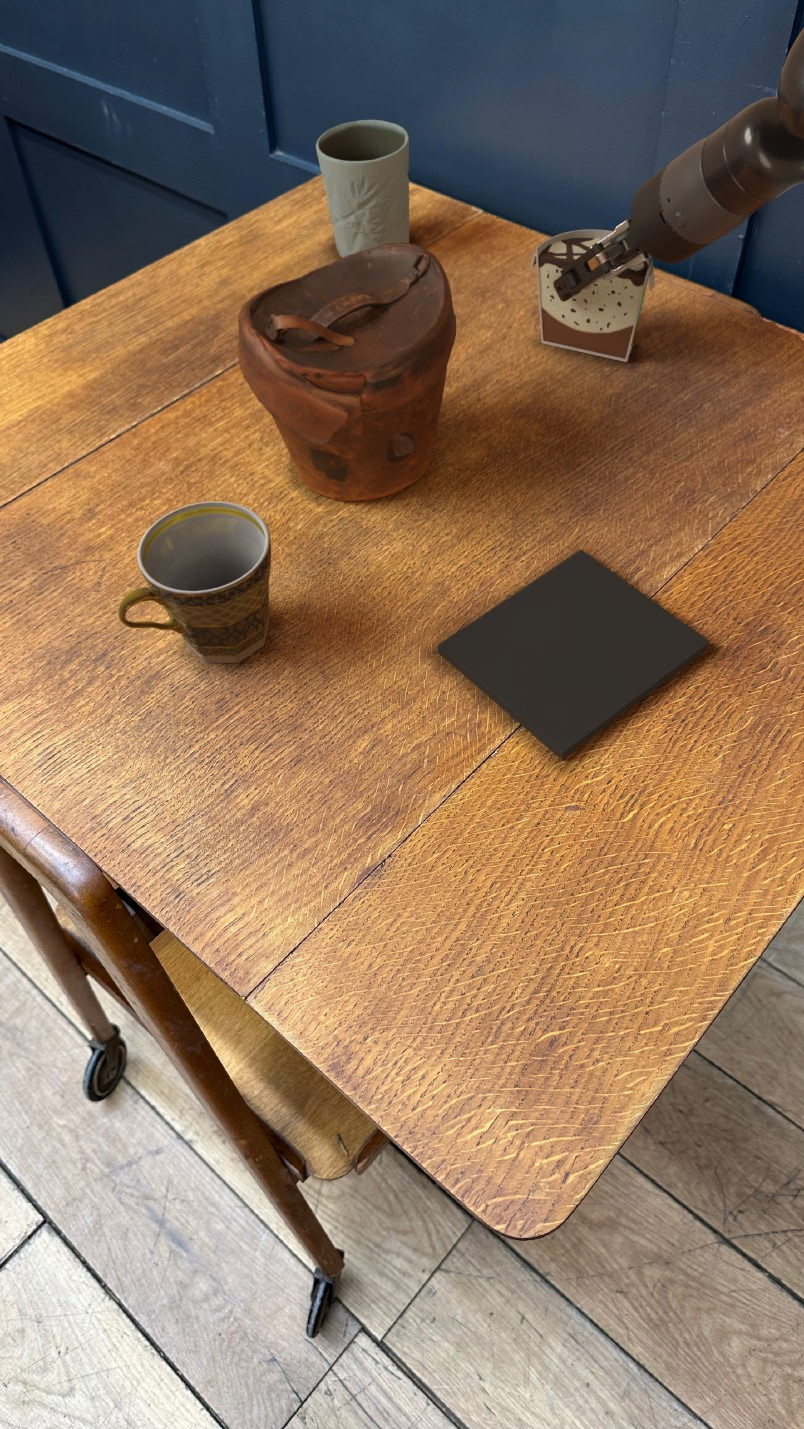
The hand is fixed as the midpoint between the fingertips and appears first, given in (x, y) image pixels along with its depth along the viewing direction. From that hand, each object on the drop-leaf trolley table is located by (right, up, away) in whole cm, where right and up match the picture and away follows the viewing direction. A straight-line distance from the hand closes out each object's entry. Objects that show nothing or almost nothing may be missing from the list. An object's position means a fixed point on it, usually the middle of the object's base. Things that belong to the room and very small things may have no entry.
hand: (588, 276), depth 103 cm
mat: (-5, -39, -21) cm, 44 cm away
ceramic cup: (-34, -38, -18) cm, 54 cm away
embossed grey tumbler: (-22, +11, +18) cm, 31 cm away
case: (-23, -20, -5) cm, 31 cm away
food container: (+1, -5, +5) cm, 7 cm away
